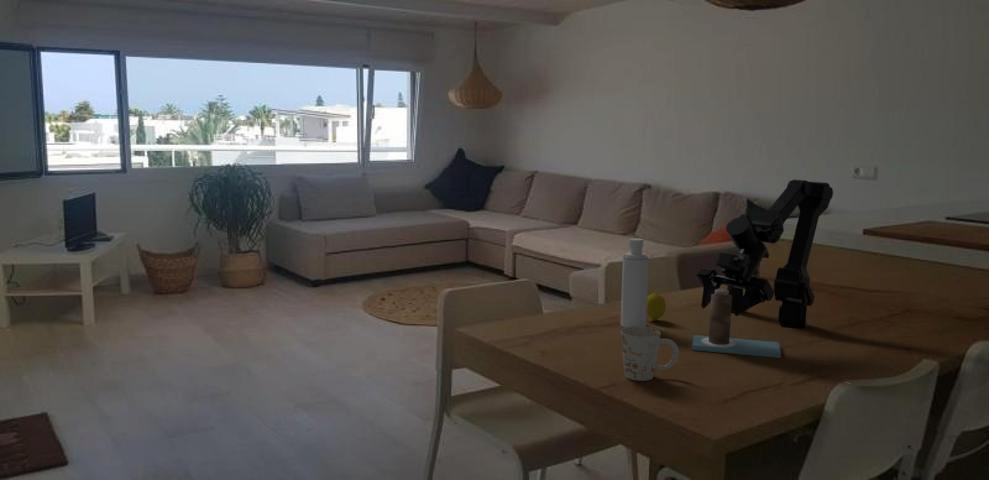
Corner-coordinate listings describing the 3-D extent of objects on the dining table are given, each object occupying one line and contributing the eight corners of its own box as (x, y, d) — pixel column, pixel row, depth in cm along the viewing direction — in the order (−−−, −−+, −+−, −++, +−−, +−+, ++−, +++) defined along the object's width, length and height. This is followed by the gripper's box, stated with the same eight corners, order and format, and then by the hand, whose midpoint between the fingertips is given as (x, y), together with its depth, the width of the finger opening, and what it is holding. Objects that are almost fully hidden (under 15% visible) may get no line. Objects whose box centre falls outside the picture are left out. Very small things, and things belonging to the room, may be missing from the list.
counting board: (778, 347, 183) (778, 341, 183) (780, 358, 175) (781, 352, 175) (693, 339, 189) (693, 334, 189) (691, 349, 181) (692, 344, 180)
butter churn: (725, 316, 213) (730, 217, 208) (707, 307, 222) (712, 213, 217) (754, 314, 215) (760, 216, 210) (735, 306, 224) (741, 212, 219)
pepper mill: (724, 338, 185) (727, 288, 183) (732, 344, 180) (735, 292, 178) (705, 339, 185) (708, 288, 183) (712, 344, 180) (715, 293, 178)
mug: (615, 370, 165) (616, 326, 164) (671, 369, 166) (673, 325, 165) (624, 383, 157) (626, 337, 155) (683, 382, 158) (685, 336, 157)
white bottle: (633, 321, 206) (637, 230, 202) (651, 326, 201) (655, 233, 197) (615, 324, 203) (618, 232, 199) (632, 330, 197) (636, 235, 193)
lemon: (665, 323, 204) (666, 295, 202) (644, 322, 205) (645, 293, 204) (664, 318, 209) (666, 290, 208) (644, 317, 210) (645, 289, 209)
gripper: (702, 235, 189) (673, 284, 184) (770, 245, 174) (740, 298, 169) (719, 262, 195) (691, 310, 190) (786, 274, 181) (758, 326, 175)
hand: (718, 311), depth 181 cm, fingers open, 9 cm apart
